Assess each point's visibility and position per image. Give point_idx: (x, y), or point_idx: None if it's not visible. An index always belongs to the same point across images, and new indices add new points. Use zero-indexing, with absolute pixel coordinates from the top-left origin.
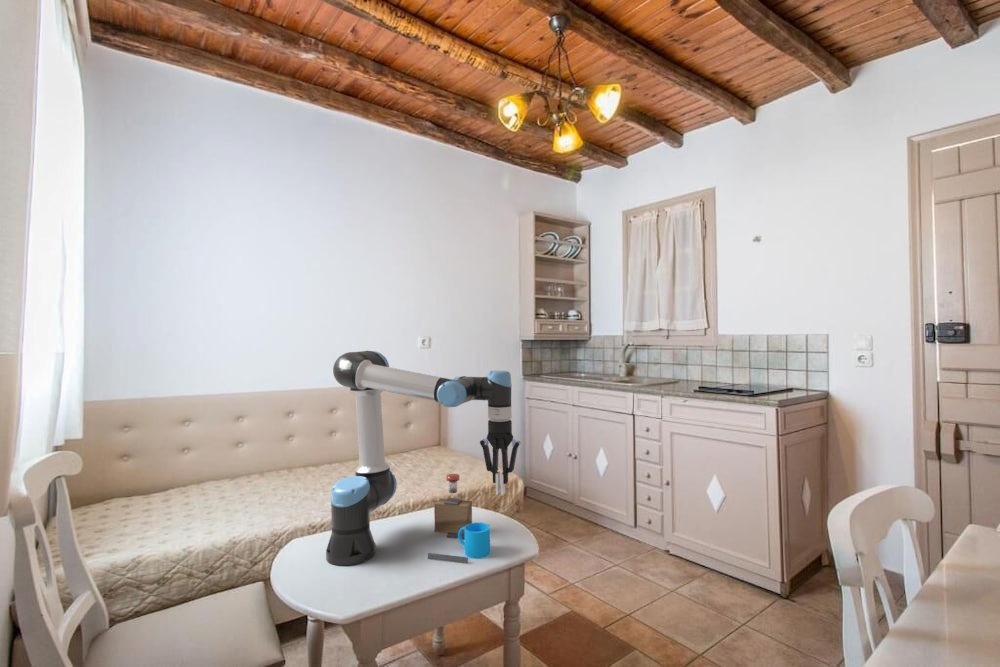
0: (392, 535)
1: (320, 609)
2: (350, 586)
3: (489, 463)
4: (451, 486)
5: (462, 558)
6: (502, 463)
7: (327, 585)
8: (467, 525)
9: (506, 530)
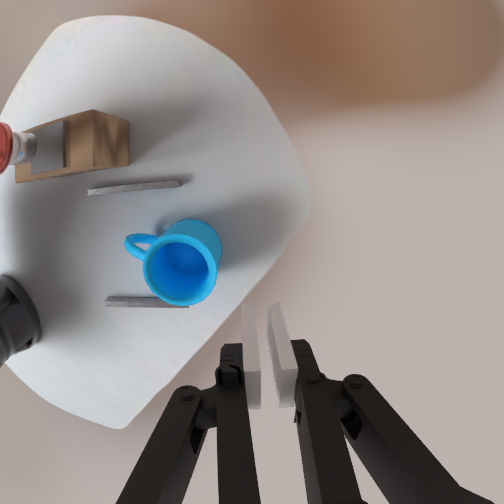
0: (10, 225)
1: (93, 421)
2: (78, 387)
3: (197, 456)
4: (12, 164)
5: (178, 306)
6: (302, 459)
7: (57, 385)
8: (146, 265)
9: (221, 100)
